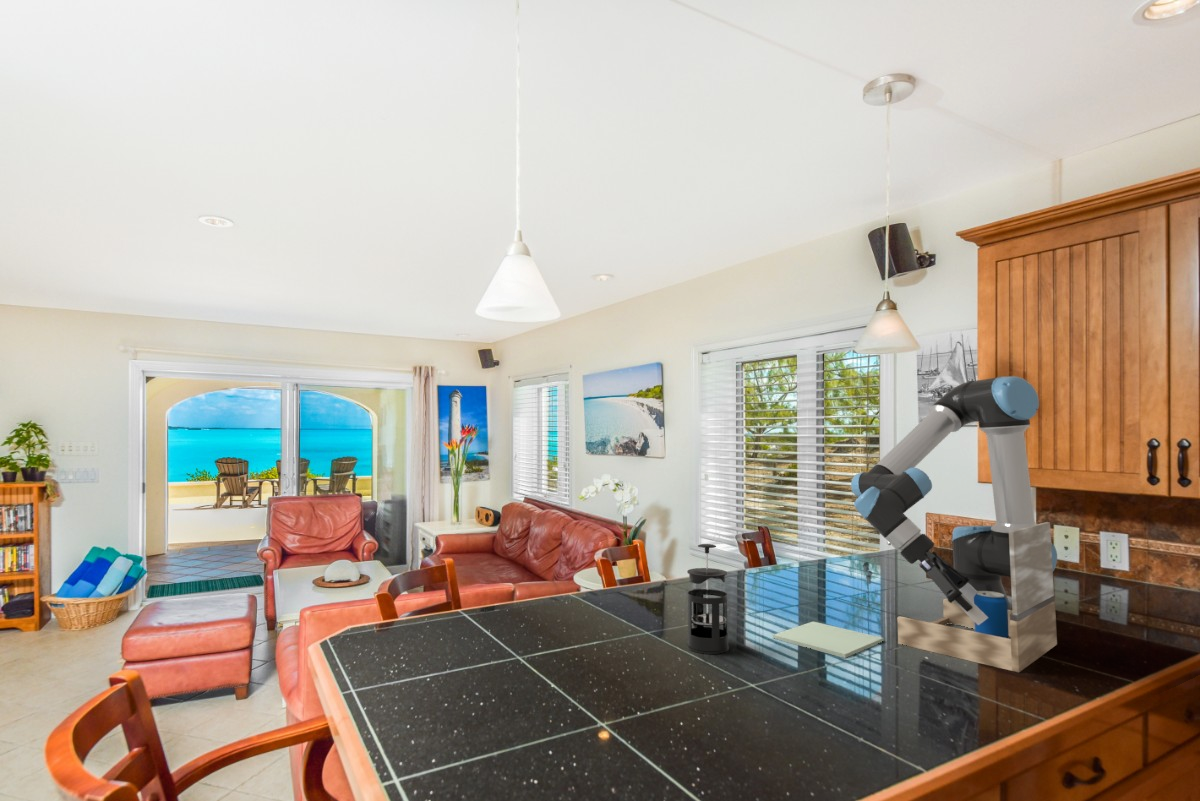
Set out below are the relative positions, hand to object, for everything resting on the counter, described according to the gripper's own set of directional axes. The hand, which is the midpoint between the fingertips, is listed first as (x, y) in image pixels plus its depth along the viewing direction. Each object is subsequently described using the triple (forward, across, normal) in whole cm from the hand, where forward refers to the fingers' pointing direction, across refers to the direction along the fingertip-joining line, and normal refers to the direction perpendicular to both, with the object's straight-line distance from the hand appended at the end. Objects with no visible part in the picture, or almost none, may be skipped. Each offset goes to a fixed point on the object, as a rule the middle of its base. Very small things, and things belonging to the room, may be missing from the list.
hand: (985, 614), depth 141 cm
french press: (-31, +37, -42) cm, 64 cm away
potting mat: (-17, +16, -27) cm, 36 cm away
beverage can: (+6, -1, -4) cm, 8 cm away
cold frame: (+4, -2, -6) cm, 8 cm away
